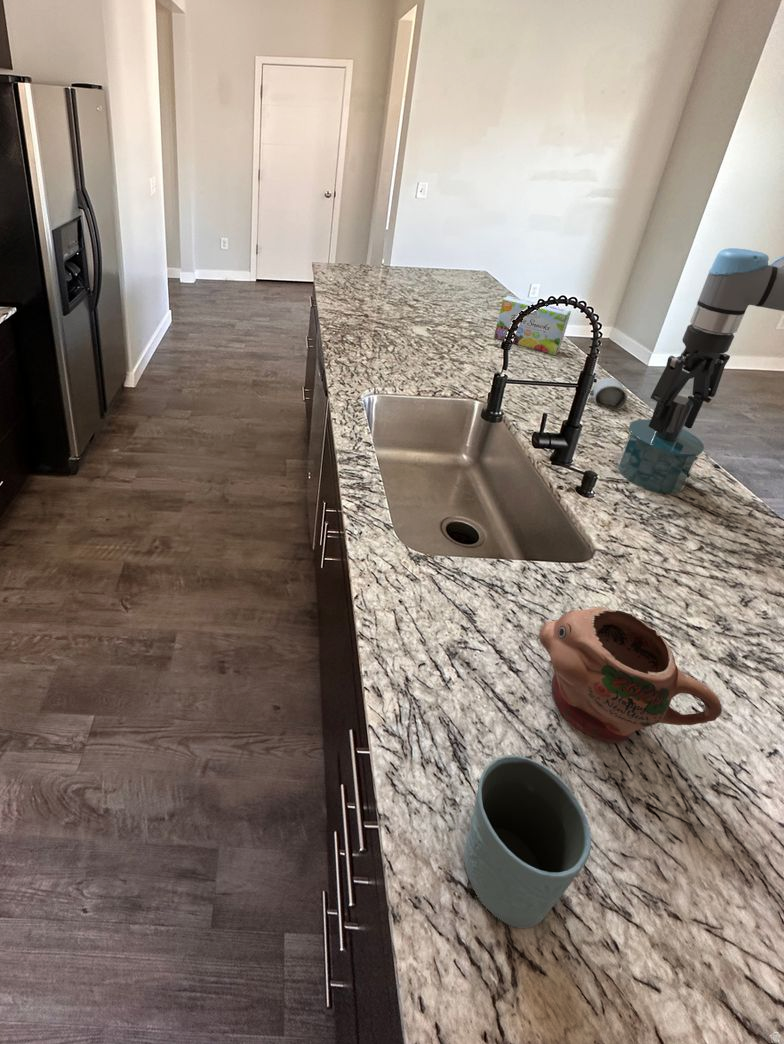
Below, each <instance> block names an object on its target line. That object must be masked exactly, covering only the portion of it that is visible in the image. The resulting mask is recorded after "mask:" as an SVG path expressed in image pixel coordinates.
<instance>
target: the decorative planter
mask: <svg viewBox="0 0 784 1044" xmlns="http://www.w3.org/2000/svg"><path fill="white" fill-rule="evenodd" d="M538 639H539V642H540V645H542V647H543V648H544V649H545V650H546V652H547V654H548V655H549V658H550V662H551V666H552V669H553V671H554V674H553V676H552V679H551V684H550V685H551V686H550V689H551V690H550V691H551V696H552V699H553V702H554V704H555V706H556V708H557V709H558V710H559V712H560V713H561V714H562V716H563V717H564V718H565V719H566V720H567V722H569V723H570V724H571V725H572V726H573V727H575V728H576V729H577V730H579V731H581V732H582V733H583V734H585V735H587V736H589V737H591V738H594V739H596V740H599V741H602V742H605V743H607V744H619V743H622V742H625V741H627V740H628V739H629V738H630V736H632V734H634V732H637V731H640V730H643V729H645V728H646V729H647V728H650V727H652V726H655V725H657V724H663V725H664V724H665V725H672V726H694V725H698V724H706V723H708V722H715V721H716V720H717V719H718V718H719V717H720V716H721V714H722V712H723V708H722V703H721V700H720V699H719V697H718V695H717V694H716V693H715V692H714V691H713V690H712V689H711V688H709V687H708V686H707V685H705V684H704V683H703V682H701V681H699V680H697V679H695V678H694V677H692V676H690V675H689V674H687V673H685V672H683V671H682V670H681V669H679V667H678V666H677V664H676V660H675V655H674V652H673V650H672V648H671V647H670V644H669V643H668V642H667V641H666V639H665V638H664V637H663V636H662V635H661V634H660V633H659V632H658V631H657V630H656V629H655V628H653V627H651V626H650V625H649V624H648V623H646V622H644V621H643V620H642V619H640V618H638V617H636V616H635V615H633V614H632V613H628V612H625V611H621V610H616V609H611V608H606V607H603V606H595V607H591V608H587V609H573V610H572V609H571V610H570V611H567V612H565V613H563V614H562V615H560V617H559V618H558V619H555V620H550V621H547V622H545V623H544V624H543V625H542V626H541V628H540V630H539V633H538ZM679 694H687V695H691V696H693V697H695V698H697V699H698V700H700V701H701V702H702V704H703V705H704V708H705V709H704V710H703V711H700V712H696V713H688V714H683V713H680V712H678V711H677V710H675V709H673V708H672V707H671V706H670V705H671V702H672V699H673V698H675V697H676V696H677V695H679Z"/></svg>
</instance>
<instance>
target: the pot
mask: <svg viewBox="0 0 784 1044" xmlns="http://www.w3.org/2000/svg"><path fill="white" fill-rule="evenodd" d="M699 456H700V455H697V456H691V457H685V456H677V455H672V454H667V453H664V452H661V451H658V450H655V449H653V448H651V447H648V446H647V445H645V444H643V443H641V442H640V441H638V440H637V439H636V438H634V437H633V436H632V434H631V433H630V432H629V433H628V435H627V438H626V441H625V442H624V446H623V448H622V451H621V453H620V456H619V458H618V462H617V471H619V473H620V474H621V475H622V477H624V478H625V479H626V480H627V481H629V482H630V483H632V484H634V485H636V486H638V487H640V488H642V489H644V490H647V491H651V492H654V493H658V494H667V495H673V494H678V493H681V492H682V491H683V489H684V488H685V486H686V484H687V482H688V480H689V477H690V475H691V473H692V471H693V469H694V467H695V465H696V462H697V460H698V458H699Z"/></svg>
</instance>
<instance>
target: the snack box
mask: <svg viewBox="0 0 784 1044" xmlns="http://www.w3.org/2000/svg"><path fill="white" fill-rule="evenodd" d="M534 303H537V302H535V301H531V300H527V299H523V298H519V297H515V296H510V295H506V296H505V297H504V298H502V301H501V305H500V310H499V314H498V319H497V323H496V327H495V330H494V331H495V332H494V335H493V338H494V339H498V340H501V341H504V339H505V337H506V335H507V332H508V330H509V328H510V325H511V322H512V321H513V320H514V319H515V318H516V316H517V315H518V314H519V313H520V312H521V311H522V310H524V309H525V308H526V307H528V306H530V305H532V304H534ZM571 312H572V311H571V310H568V309H565V308H562V307H561V308H560V307H556V306H552V305H548V306H547V307H544V308H541V309H538V310H536V311H534V312H533V313H531V314H529V315H527V316H526V317H525V318H524V319H523V320H522V322H521V323H520V325H519V327H518V329H517V332H516V334H515V338H514V341H513V343H512V344H515V345H519V346H522V347H525V348H529V349H532V350H535V351H538V352H542V353H545V354H550V355H552V356H556V355H557V354H558V353H559V352H560V350H561V347H562V344H563V340H564V337H565V333H566V330H567V326H568V323H569V320H570V318H571Z"/></svg>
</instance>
